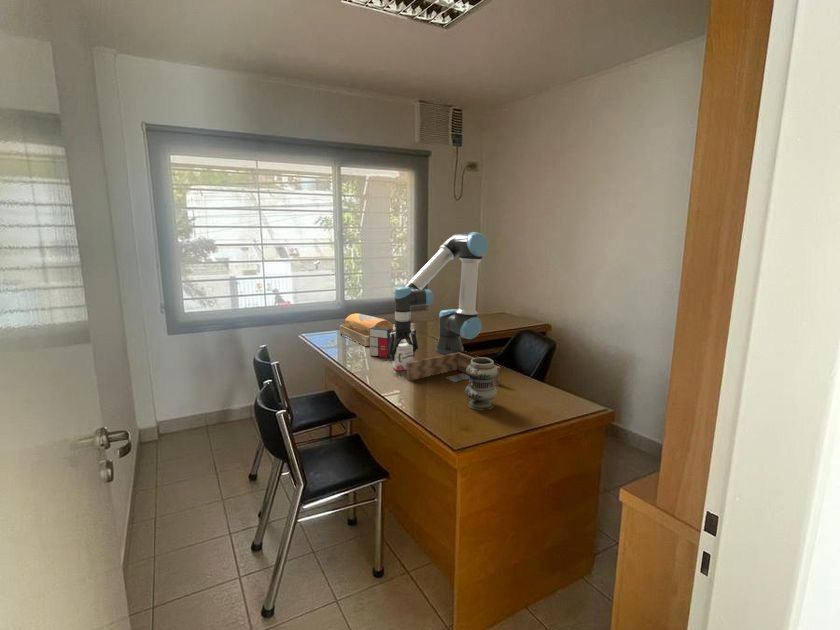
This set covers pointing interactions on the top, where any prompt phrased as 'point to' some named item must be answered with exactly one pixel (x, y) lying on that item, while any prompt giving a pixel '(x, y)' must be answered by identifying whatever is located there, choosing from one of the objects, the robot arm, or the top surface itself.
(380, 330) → the grey and red box
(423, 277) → the robot arm
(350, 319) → the orange rounded block
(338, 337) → the top surface
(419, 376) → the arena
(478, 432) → the top surface
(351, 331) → the crate
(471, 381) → the apothecary jar
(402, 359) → the ink box
